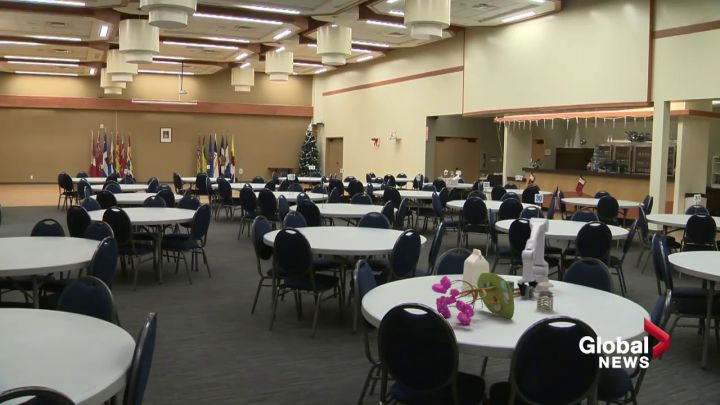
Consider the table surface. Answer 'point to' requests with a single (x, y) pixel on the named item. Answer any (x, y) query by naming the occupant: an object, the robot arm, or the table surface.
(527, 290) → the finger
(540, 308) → the french press
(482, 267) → the milk
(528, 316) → the table surface
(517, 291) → the rail
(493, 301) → the magenta flower sprig
